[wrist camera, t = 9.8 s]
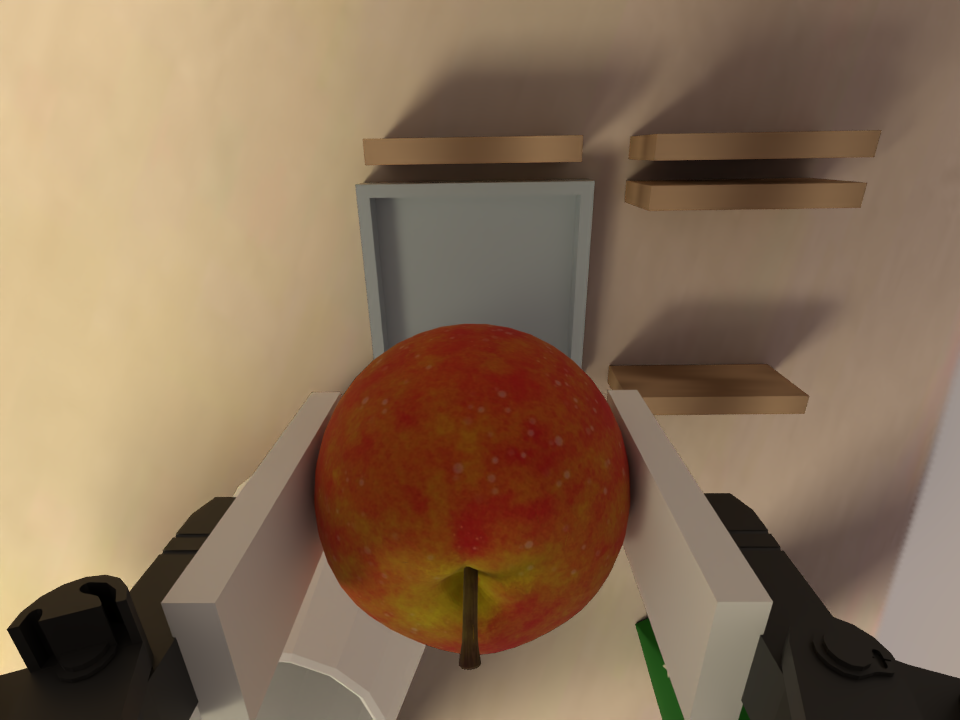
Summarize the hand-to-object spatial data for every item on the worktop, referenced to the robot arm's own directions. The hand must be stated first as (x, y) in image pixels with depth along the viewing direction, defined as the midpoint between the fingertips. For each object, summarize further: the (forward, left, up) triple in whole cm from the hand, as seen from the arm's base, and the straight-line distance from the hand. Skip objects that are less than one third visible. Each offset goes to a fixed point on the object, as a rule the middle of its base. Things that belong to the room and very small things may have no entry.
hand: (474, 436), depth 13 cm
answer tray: (0, 0, -15) cm, 15 cm away
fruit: (0, 0, -2) cm, 2 cm away
